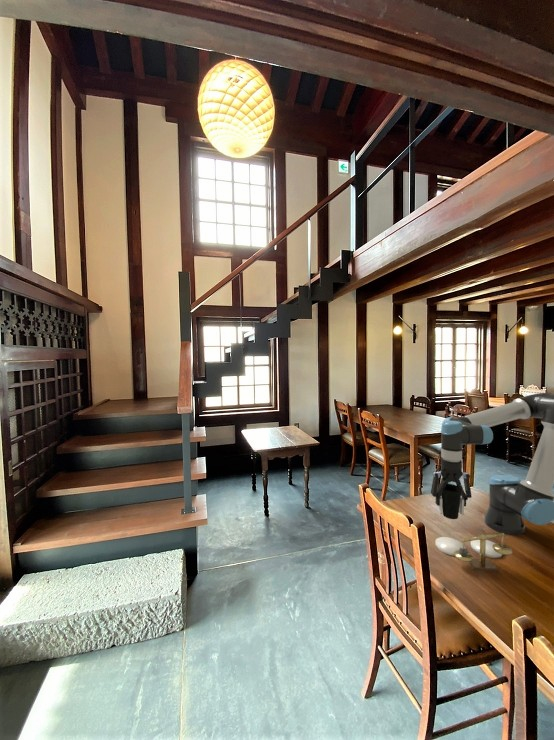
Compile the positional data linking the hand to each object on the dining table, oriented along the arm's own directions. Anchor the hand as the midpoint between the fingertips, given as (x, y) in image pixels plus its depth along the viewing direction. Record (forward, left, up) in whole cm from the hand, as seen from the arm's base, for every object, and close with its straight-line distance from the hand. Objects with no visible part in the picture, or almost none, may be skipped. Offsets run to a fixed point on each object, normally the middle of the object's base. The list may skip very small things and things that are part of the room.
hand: (450, 513), depth 130 cm
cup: (0, 0, -1) cm, 1 cm away
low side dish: (0, 0, -15) cm, 15 cm away
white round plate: (-14, 0, -15) cm, 20 cm away
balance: (-7, +11, -15) cm, 20 cm away
